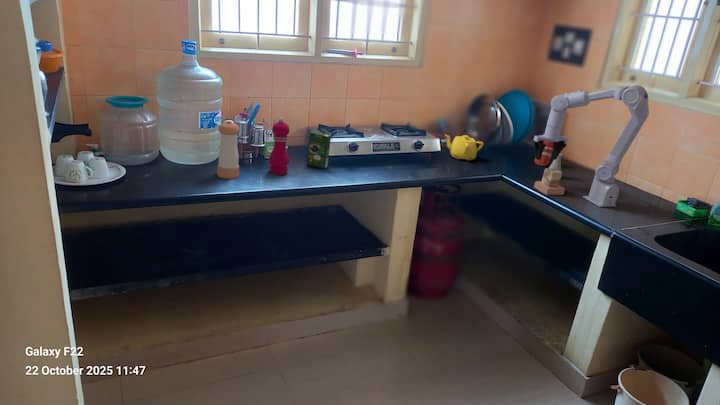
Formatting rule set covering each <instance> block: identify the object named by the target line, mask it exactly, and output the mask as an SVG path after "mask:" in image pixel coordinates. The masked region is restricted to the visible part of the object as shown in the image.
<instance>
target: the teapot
mask: <svg viewBox="0 0 720 405" xmlns="http://www.w3.org/2000/svg"><path fill="white" fill-rule="evenodd" d="M444 136H445V138H446V140H447V141H446V146H447V149H448V150H449V152H450V155H451V157H452V158H454V159H455V160H460V159H461V160H465V161H468V162H469V161H470V162H471V161H474V160H475V159H476V157H477V153H478V151H480V150H481V149H482V148H483V147H484V145H485V144H484V142H483V141H476V140H475V139H474V138H473V137H470V136H469V135H466V134H465V135H461V136H459V135H457V136H456V135H455V137H454V139H453V140H452V142H451V136H450V135H447V134H444ZM477 144H479V145H478V147H477Z"/></svg>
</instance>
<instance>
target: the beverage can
mask: <svg viewBox="0 0 720 405" xmlns="http://www.w3.org/2000/svg"><path fill="white" fill-rule="evenodd" d="M544 144H546V147H545V148H544V150H543V153H542V156H541V159H540V160H538V159H536V156H535V158H534V160H533V161H534V163H535V164H536V165H537V166H540V167H547V166H550V160H551V159H552V158H551V156H552V151H553V142H544Z"/></svg>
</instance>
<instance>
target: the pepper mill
mask: <svg viewBox="0 0 720 405" xmlns="http://www.w3.org/2000/svg"><path fill="white" fill-rule="evenodd" d="M271 129H272V130H271V131H272V134H274V135H273V136H272V137H273V138H272V139H273V140H274V142H273V147H272V148H273V149H272V150H271V152H270V154H269V158H268V163H269V164H270V166H269V172H270V173H271V174H273V175H279V176H282V175H286V174H288V165H289V164H290V156H289V154H288V151H287V141H288V138H289V137H288V135H289V134H290V127H289V124H287V123H286V122H285V120H284V118H283V117H280V118H279V119H278V122H275V123H274V124H273V125H272V128H271Z"/></svg>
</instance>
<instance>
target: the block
mask: <svg viewBox="0 0 720 405" xmlns="http://www.w3.org/2000/svg"><path fill="white" fill-rule="evenodd" d="M561 174H563V171H562V170H561V171H559V170H557V169H555V168H549V167H548V168H547V167H546V168H545V169H544V171H543V175H542V179H541V181H542V182H541V183H543V184H544V185H546V186H548V187H558V185H560V181H561V179H562V178H561ZM560 178H561V179H560Z"/></svg>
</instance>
